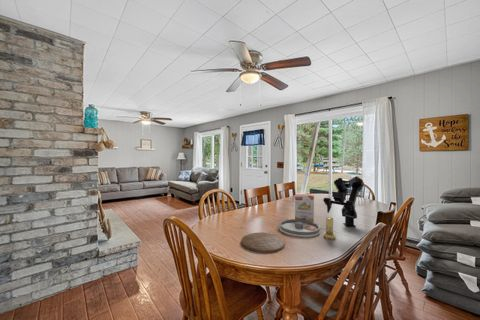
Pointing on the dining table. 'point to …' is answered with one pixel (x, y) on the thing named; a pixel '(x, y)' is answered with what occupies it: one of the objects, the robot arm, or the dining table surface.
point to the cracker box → (304, 207)
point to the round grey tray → (299, 228)
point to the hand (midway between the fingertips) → (334, 213)
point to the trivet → (263, 242)
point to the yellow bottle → (329, 229)
